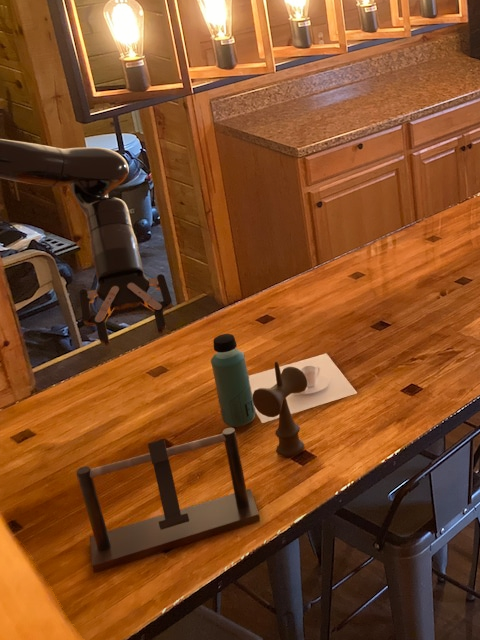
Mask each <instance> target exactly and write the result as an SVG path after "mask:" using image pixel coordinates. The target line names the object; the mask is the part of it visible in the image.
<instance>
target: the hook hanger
mask: <svg viewBox="0 0 480 640" xmlns="http://www.w3.org/2000/svg"><path fill="white" fill-rule="evenodd" d="M147 447H148V451H149V453H150V456H151V460H152V461H151V464H152V466H153V469H154V474H155V478H156V483H157V489H158V493H159V498H160V502H161V506H162V511H163V514H164V516H165V520H162V521H159V527H160V529H161V530H162V529H166V528H169V527H172V526H176V525H179V524H182V523H186V522H189V517H188V513H186V514H182V515H181V512H180V509H181V508H180V503H179V499H178V494H177V490H176V486H175V480H174V476H173V471H172V467H171V463H170V457H168V455H167V450H166V449H167V448H168V447H167V445H166V441H165V439H160V440H156V441H152V442H149V443H147Z"/></svg>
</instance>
